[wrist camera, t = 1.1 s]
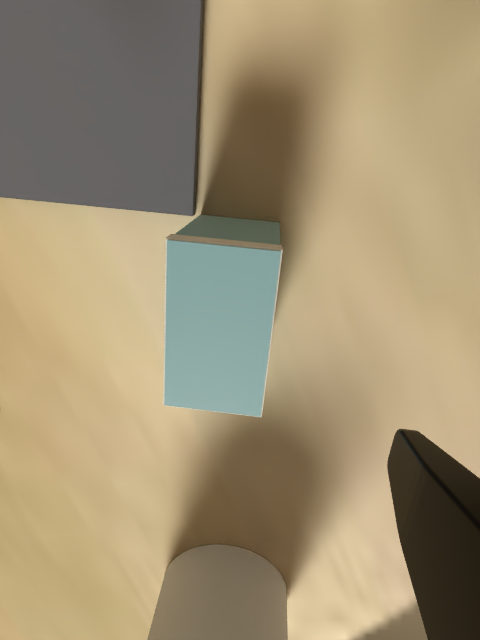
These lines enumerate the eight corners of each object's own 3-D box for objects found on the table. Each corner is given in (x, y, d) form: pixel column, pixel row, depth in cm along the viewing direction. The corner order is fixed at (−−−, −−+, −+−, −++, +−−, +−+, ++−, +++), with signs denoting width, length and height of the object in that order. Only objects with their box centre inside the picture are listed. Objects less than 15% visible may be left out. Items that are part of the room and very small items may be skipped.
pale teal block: (281, 221, 18) (282, 250, 12) (266, 346, 20) (261, 418, 15) (200, 213, 18) (165, 238, 12) (194, 338, 20) (162, 406, 15)
